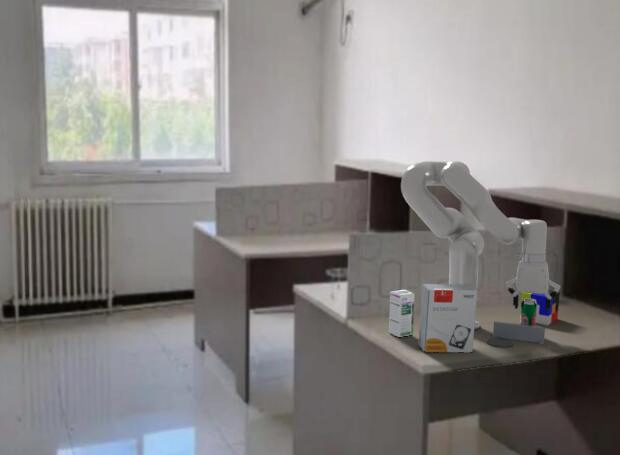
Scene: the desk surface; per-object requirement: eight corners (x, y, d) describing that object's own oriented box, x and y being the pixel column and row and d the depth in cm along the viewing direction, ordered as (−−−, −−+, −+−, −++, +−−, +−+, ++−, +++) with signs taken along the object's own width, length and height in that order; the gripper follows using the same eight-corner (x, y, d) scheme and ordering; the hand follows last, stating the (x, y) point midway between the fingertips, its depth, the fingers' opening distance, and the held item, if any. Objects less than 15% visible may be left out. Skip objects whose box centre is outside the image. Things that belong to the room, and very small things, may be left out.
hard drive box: (423, 353, 230) (427, 289, 226) (417, 345, 237) (421, 283, 234) (473, 353, 232) (477, 289, 228) (466, 344, 239) (470, 283, 236)
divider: (492, 337, 247) (493, 322, 246) (493, 334, 250) (494, 320, 249) (543, 344, 241) (544, 329, 240) (544, 341, 244) (545, 326, 243)
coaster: (485, 345, 239) (485, 343, 239) (488, 337, 246) (489, 336, 246) (511, 348, 236) (511, 346, 236) (514, 341, 243) (514, 339, 243)
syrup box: (399, 338, 243) (401, 294, 241) (388, 333, 248) (390, 290, 246) (413, 336, 246) (415, 292, 244) (401, 331, 251) (403, 288, 249)
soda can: (515, 333, 252) (518, 298, 250) (527, 331, 254) (530, 297, 252) (525, 337, 247) (528, 302, 245) (537, 336, 249) (540, 301, 247)
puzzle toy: (547, 325, 262) (549, 297, 260) (519, 319, 268) (521, 292, 266) (557, 319, 270) (559, 292, 268) (530, 313, 276) (532, 287, 274)
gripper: (504, 258, 246) (503, 309, 248) (560, 261, 239) (558, 314, 242) (507, 254, 253) (506, 304, 255) (562, 257, 246) (560, 308, 249)
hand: (531, 309), depth 249 cm, fingers open, 9 cm apart
